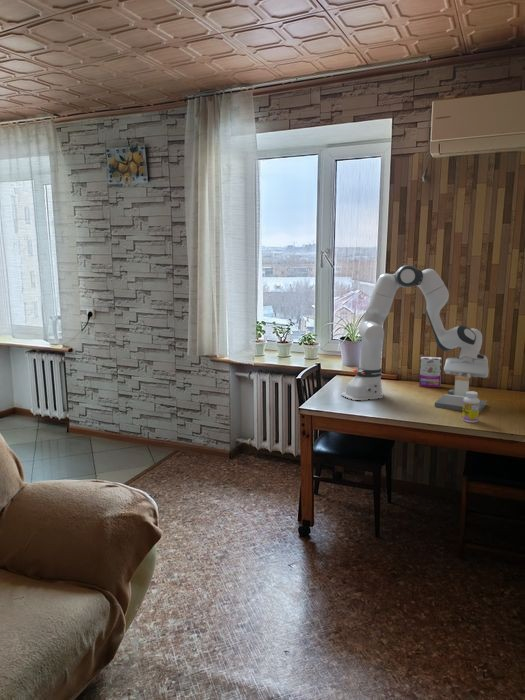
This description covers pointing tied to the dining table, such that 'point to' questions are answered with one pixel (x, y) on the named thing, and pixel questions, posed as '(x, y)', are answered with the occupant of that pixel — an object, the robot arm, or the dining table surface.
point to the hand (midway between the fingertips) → (463, 382)
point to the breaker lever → (461, 385)
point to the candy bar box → (430, 371)
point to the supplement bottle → (470, 407)
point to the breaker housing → (454, 402)
